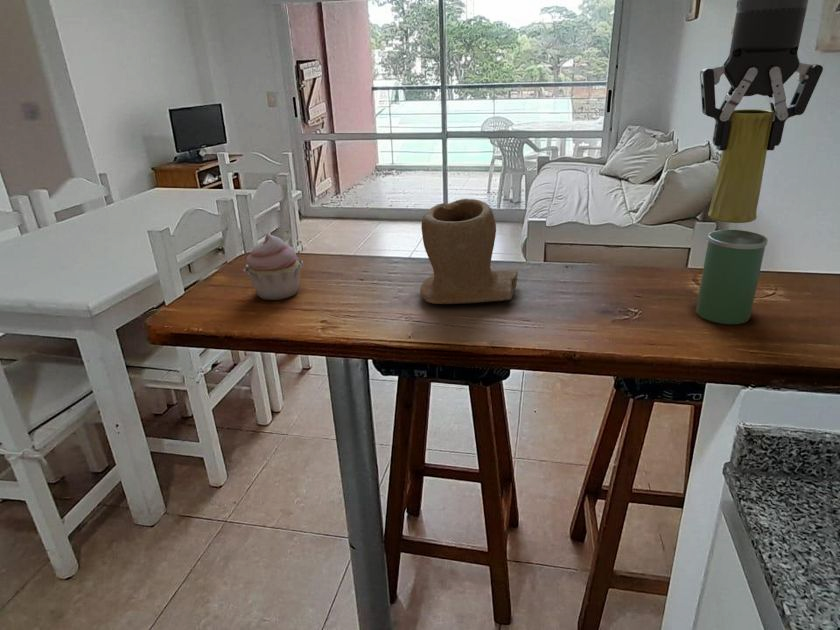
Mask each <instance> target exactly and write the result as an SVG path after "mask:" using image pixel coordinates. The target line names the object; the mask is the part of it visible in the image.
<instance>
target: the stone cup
mask: <svg viewBox="0 0 840 630" xmlns="http://www.w3.org/2000/svg"><path fill="white" fill-rule="evenodd" d="M421 236H422V244H423V247H424V251H425V252H426V255H427V257H428V260H429V262H430V265H431V267H432V271H433V275H431V276H429V277H427V278H426V279H425V280H424V281H423V282H422V284H420V288H419V293H420V296H421V297H422V298H423V299H424V300H425V302H427V303H430V304H434V305H463V304H477V303H478V304H479V303H491V302H502V301H503V302H505V301H510V300H511V299H513V297H514V296H513V295H514V292H515V290H516V288H517V282H518V274H519V272H518V269H509V270H508V269H507V270H492V268H491V263H492V257H493V252H494V247H495V242H496V237H497V222H496V219H495V214H494V212H493V209H492V208H491V206H490V205H489V204H488V203H487V202H485V201H482V200H479V199H475V198H460V199H456V200H455V201H452V202H449V203H447V202H446V203H445V202H443V203H437V204H436V205H434V206H432V207H431V208H429V209H428V210H427V211H426V212H425V213H424V214H423V216H422V219H421Z"/></svg>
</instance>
